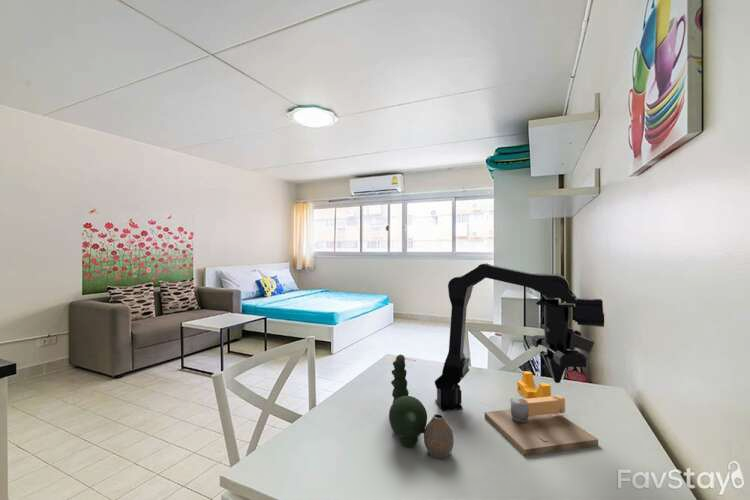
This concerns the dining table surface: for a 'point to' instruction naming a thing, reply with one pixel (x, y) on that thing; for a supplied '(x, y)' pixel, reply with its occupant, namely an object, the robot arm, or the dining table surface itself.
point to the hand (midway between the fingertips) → (557, 382)
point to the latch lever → (537, 406)
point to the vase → (438, 437)
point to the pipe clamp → (532, 387)
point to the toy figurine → (405, 408)
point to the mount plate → (540, 432)
